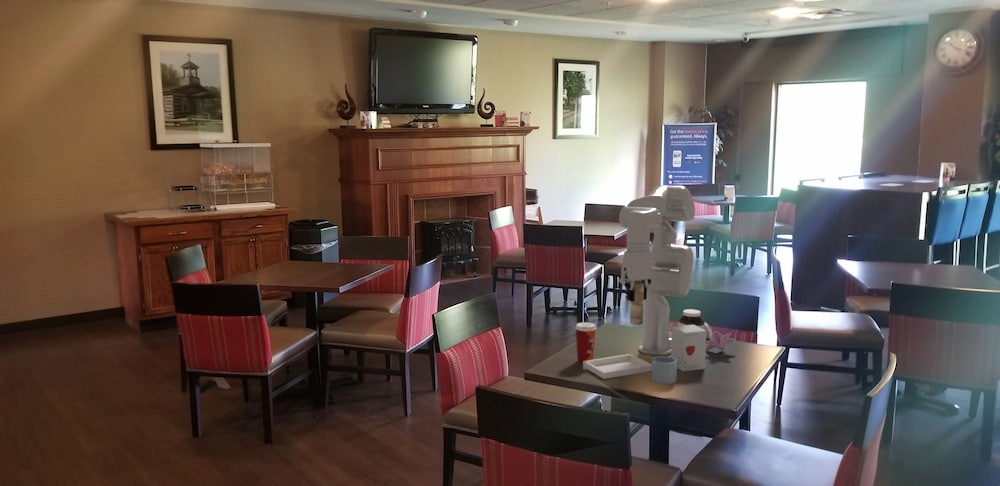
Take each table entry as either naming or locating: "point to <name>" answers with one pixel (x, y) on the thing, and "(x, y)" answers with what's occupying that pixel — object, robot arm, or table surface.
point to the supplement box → (688, 347)
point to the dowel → (637, 304)
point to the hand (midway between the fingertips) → (636, 299)
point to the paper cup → (585, 341)
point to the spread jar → (695, 321)
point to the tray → (617, 366)
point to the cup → (664, 369)
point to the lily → (719, 341)
